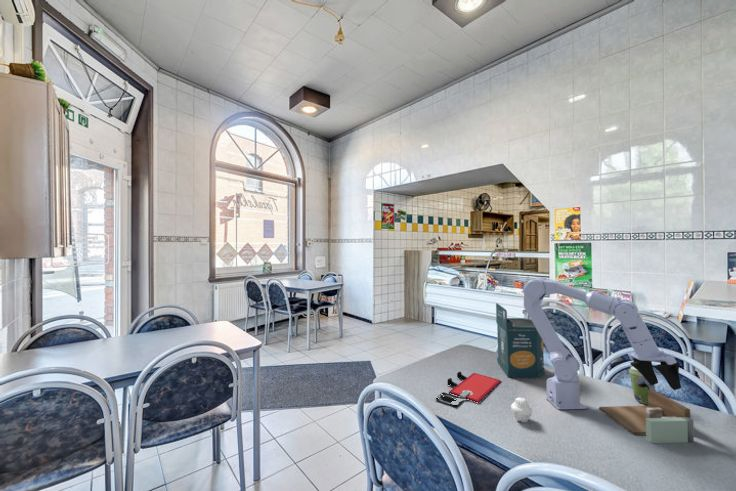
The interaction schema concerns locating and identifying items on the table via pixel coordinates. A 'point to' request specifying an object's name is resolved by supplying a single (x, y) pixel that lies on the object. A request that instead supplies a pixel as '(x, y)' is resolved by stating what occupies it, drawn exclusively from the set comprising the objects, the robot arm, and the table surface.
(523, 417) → the muffin
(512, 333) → the donation box
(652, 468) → the table surface
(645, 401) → the beverage can
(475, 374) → the red board with handle
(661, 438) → the green piece
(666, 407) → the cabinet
